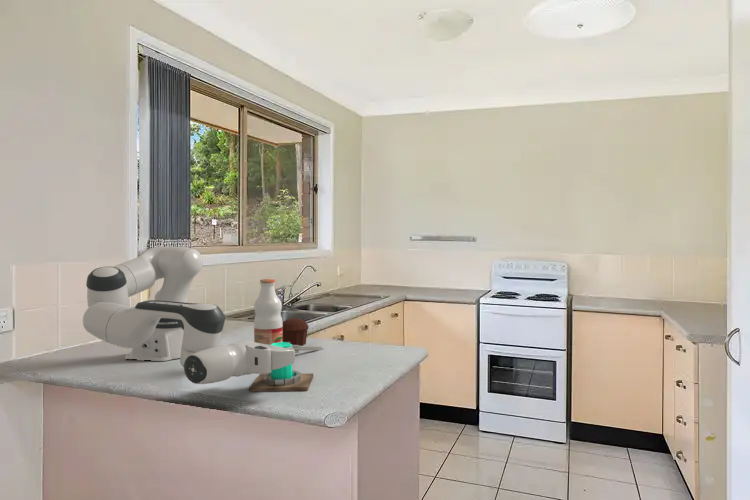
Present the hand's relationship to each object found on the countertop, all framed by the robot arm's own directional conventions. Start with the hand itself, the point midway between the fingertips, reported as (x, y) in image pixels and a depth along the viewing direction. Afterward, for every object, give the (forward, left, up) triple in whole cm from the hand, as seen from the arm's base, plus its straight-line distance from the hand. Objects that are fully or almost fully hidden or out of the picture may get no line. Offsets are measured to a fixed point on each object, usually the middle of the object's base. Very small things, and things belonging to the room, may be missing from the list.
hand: (284, 348), depth 151 cm
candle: (-1, -1, -9) cm, 9 cm away
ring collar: (-1, -1, -10) cm, 10 cm away
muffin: (-6, +53, -10) cm, 55 cm away
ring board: (-1, -1, -10) cm, 10 cm away
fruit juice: (-10, +24, -10) cm, 28 cm away
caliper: (+1, +37, -11) cm, 38 cm away
